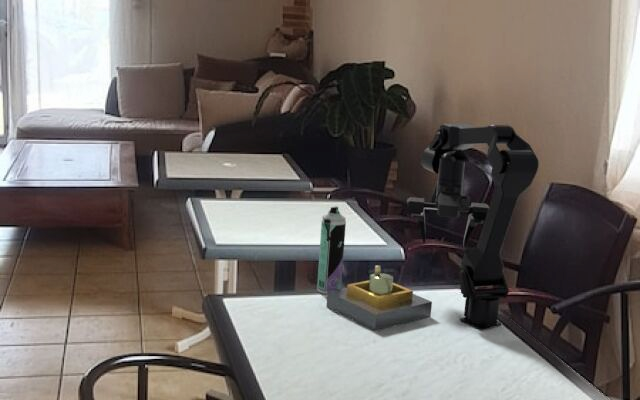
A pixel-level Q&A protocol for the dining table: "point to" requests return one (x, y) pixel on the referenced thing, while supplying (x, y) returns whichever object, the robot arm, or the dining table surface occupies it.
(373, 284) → the spout can
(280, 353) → the dining table surface
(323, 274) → the spray can
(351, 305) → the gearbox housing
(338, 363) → the dining table surface
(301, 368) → the dining table surface
